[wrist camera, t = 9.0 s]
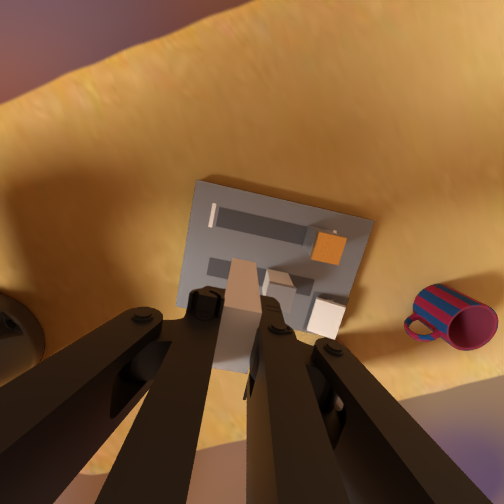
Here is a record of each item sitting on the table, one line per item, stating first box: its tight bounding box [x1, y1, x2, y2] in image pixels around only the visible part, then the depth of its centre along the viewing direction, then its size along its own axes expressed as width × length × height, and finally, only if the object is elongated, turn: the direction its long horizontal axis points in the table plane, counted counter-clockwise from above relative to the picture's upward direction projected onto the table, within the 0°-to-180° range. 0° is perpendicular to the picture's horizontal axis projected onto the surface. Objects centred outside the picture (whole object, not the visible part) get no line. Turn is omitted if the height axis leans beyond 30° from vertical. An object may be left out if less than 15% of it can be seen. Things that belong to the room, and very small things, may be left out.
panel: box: [176, 180, 375, 335], centre depth 36 cm, size 24×18×2 cm
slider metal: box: [302, 226, 347, 265], centre depth 31 cm, size 3×3×6 cm
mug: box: [404, 284, 498, 351], centre depth 36 cm, size 7×10×7 cm
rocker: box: [307, 297, 346, 340], centre depth 36 cm, size 4×5×2 cm
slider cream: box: [262, 269, 296, 313], centre depth 32 cm, size 3×3×6 cm
